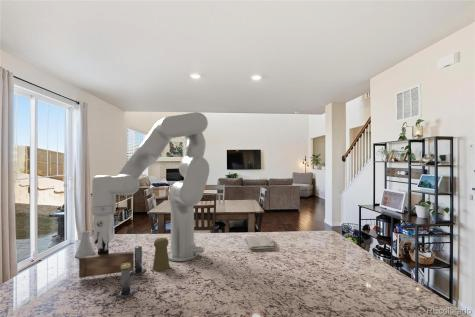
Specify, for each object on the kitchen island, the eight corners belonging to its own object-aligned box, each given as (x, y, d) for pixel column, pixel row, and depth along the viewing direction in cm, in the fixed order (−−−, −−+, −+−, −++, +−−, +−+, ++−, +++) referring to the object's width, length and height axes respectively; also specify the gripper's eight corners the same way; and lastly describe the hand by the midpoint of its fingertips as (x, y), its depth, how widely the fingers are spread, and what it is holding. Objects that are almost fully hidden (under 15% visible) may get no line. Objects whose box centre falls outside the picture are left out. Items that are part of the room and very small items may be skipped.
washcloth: (250, 253, 110) (250, 246, 111) (244, 240, 128) (243, 234, 128) (276, 252, 112) (276, 245, 112) (266, 239, 130) (266, 233, 130)
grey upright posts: (152, 270, 93) (152, 245, 93) (129, 297, 74) (129, 266, 74) (135, 269, 93) (135, 245, 93) (107, 297, 74) (107, 266, 74)
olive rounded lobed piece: (172, 265, 96) (172, 236, 97) (163, 272, 91) (163, 241, 91) (159, 263, 98) (159, 235, 99) (149, 270, 93) (149, 240, 93)
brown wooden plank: (133, 269, 91) (133, 251, 91) (133, 271, 89) (133, 252, 90) (80, 275, 86) (80, 256, 86) (79, 278, 84) (79, 258, 84)
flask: (98, 252, 111) (98, 229, 111) (87, 258, 104) (87, 234, 104) (83, 252, 112) (83, 229, 112) (70, 258, 104) (70, 234, 105)
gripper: (110, 213, 84) (109, 268, 84) (119, 205, 99) (118, 253, 98) (85, 214, 82) (84, 270, 82) (98, 206, 97) (97, 254, 96)
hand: (103, 261), depth 90 cm, fingers closed
